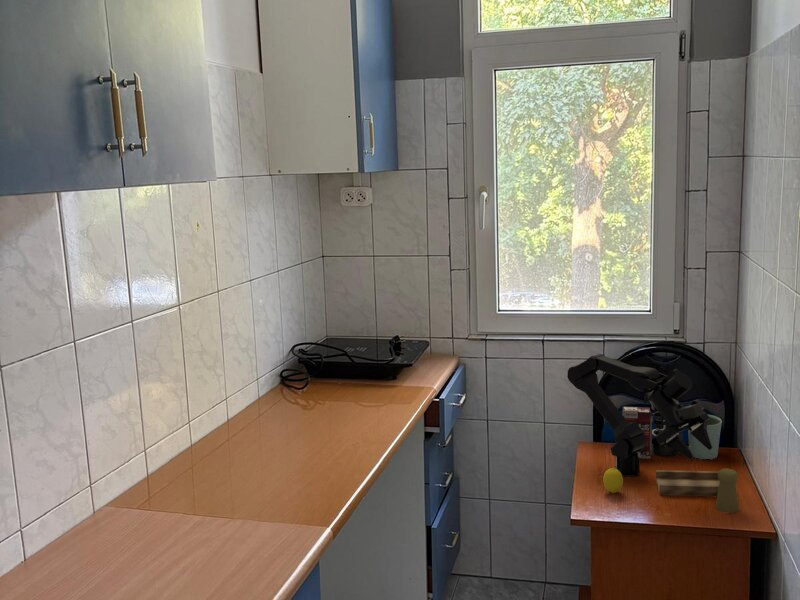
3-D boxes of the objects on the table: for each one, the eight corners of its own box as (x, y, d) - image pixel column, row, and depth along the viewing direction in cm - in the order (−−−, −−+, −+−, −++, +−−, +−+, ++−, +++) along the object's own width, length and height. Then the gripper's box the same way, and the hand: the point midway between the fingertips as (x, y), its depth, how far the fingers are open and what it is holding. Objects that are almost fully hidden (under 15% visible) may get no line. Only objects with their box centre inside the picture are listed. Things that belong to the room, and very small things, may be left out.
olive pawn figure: (741, 513, 216) (742, 475, 213) (717, 512, 217) (718, 475, 215) (736, 503, 221) (737, 466, 219) (713, 502, 223) (714, 465, 220)
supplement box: (622, 458, 256) (622, 411, 252) (622, 452, 260) (622, 406, 257) (651, 459, 254) (651, 411, 250) (649, 453, 258) (650, 406, 255)
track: (659, 494, 229) (659, 485, 228) (655, 479, 239) (655, 470, 238) (733, 497, 225) (733, 487, 224) (726, 481, 235) (726, 471, 234)
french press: (684, 457, 253) (685, 388, 249) (654, 458, 254) (654, 389, 249) (672, 443, 265) (673, 377, 260) (644, 444, 265) (644, 378, 261)
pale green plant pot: (684, 448, 260) (684, 413, 258) (716, 448, 259) (717, 413, 256) (691, 461, 250) (691, 425, 248) (724, 461, 249) (725, 424, 246)
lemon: (623, 490, 234) (623, 464, 232) (622, 498, 228) (622, 472, 227) (604, 488, 235) (603, 463, 234) (602, 496, 230) (602, 470, 229)
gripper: (665, 400, 218) (701, 449, 212) (704, 384, 229) (739, 430, 222) (641, 420, 226) (675, 468, 219) (679, 404, 237) (713, 449, 230)
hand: (701, 453), depth 223 cm, fingers open, 9 cm apart
